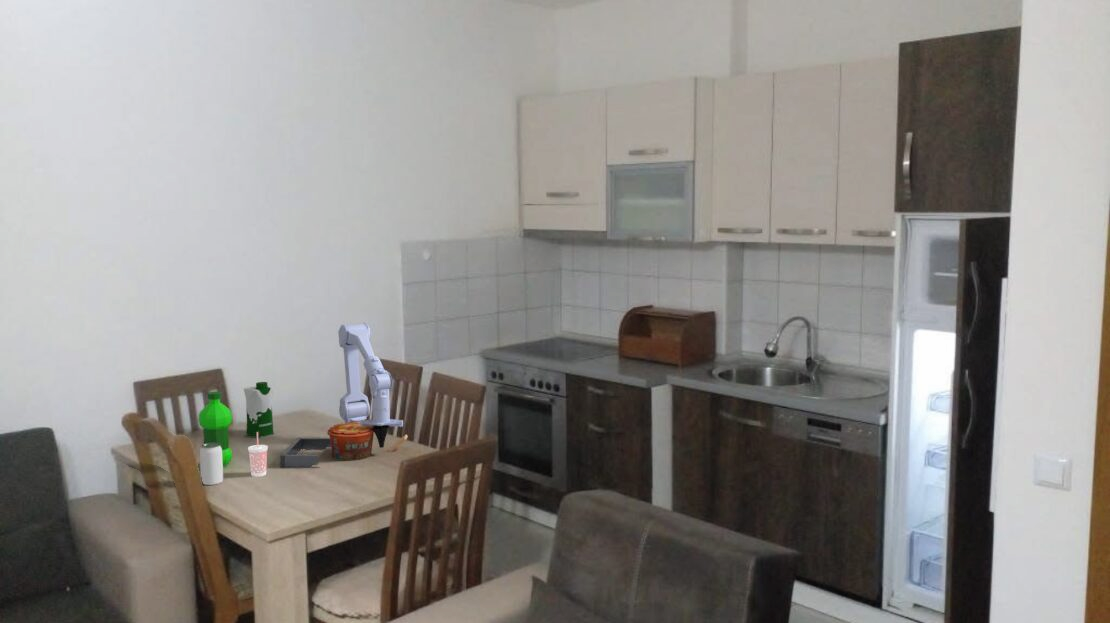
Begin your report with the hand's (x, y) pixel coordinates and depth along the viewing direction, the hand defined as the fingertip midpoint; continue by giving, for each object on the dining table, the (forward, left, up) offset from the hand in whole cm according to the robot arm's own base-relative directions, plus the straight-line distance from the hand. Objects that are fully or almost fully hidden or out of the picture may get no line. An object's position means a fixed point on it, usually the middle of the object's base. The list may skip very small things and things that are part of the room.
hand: (381, 446), depth 300 cm
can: (+26, -49, -4) cm, 55 cm away
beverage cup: (+18, -37, -4) cm, 41 cm away
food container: (0, -10, -4) cm, 11 cm away
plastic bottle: (+10, -53, -4) cm, 54 cm away
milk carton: (-30, -51, -4) cm, 59 cm away
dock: (0, -26, -4) cm, 26 cm away
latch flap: (-7, +5, -1) cm, 8 cm away
